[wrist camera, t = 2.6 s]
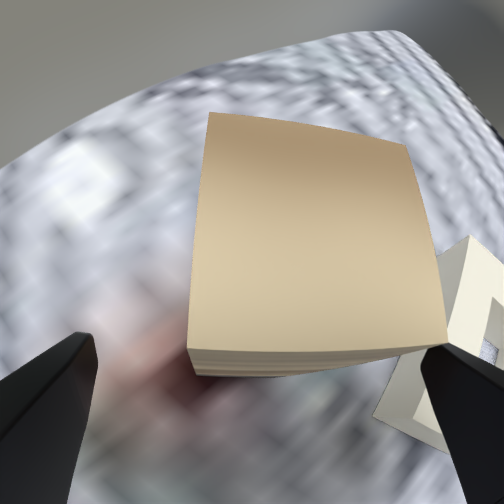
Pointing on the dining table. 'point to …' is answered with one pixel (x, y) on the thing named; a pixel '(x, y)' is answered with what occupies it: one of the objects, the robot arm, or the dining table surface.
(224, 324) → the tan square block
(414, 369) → the square ring frame
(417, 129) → the dining table surface
